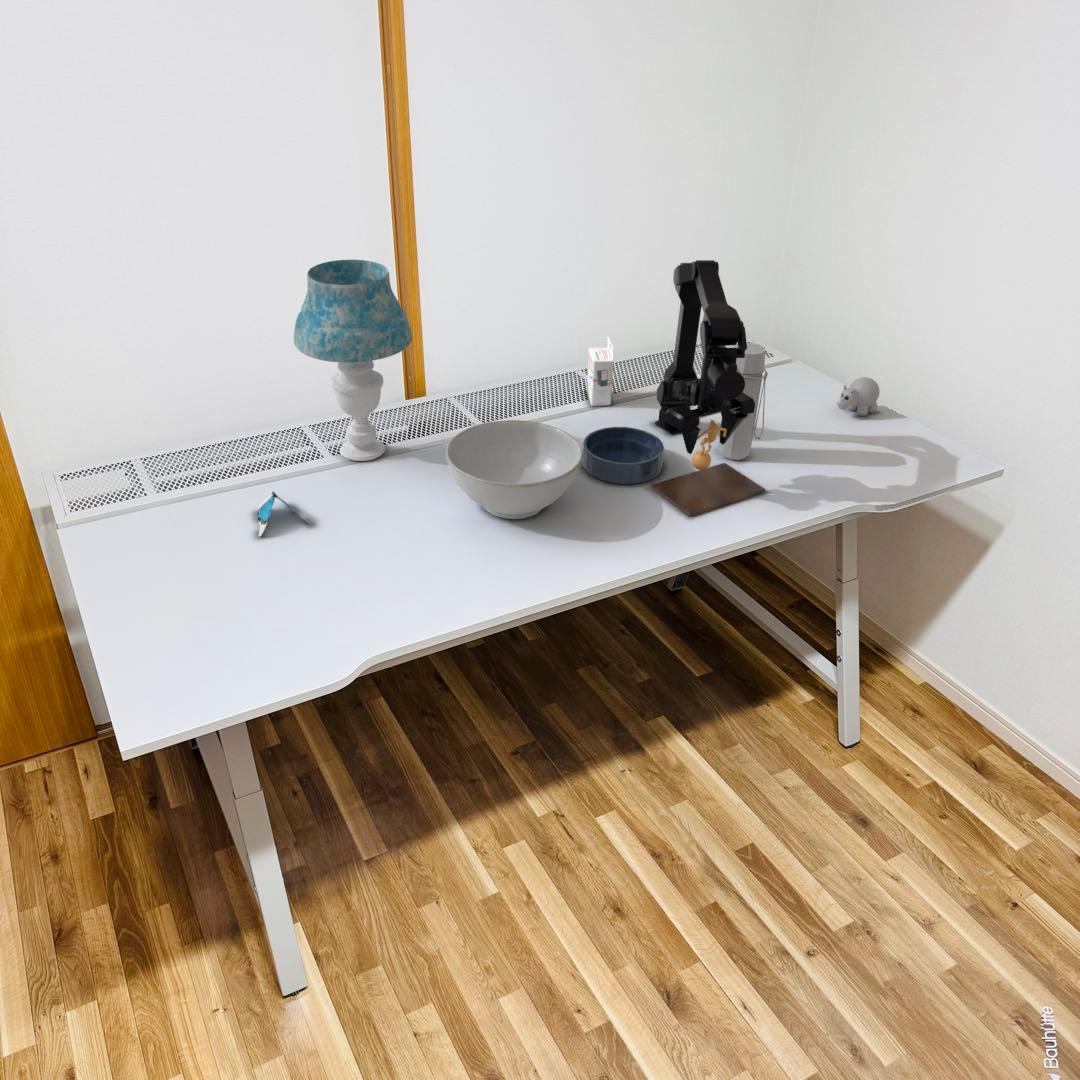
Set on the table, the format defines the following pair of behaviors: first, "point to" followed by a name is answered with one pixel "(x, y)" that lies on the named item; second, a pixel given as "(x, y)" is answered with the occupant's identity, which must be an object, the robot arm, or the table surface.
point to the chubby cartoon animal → (860, 396)
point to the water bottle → (752, 374)
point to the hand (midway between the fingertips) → (705, 448)
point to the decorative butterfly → (268, 510)
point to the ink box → (600, 375)
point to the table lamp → (353, 339)
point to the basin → (622, 455)
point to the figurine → (703, 458)
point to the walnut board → (707, 489)
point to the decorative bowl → (514, 465)
